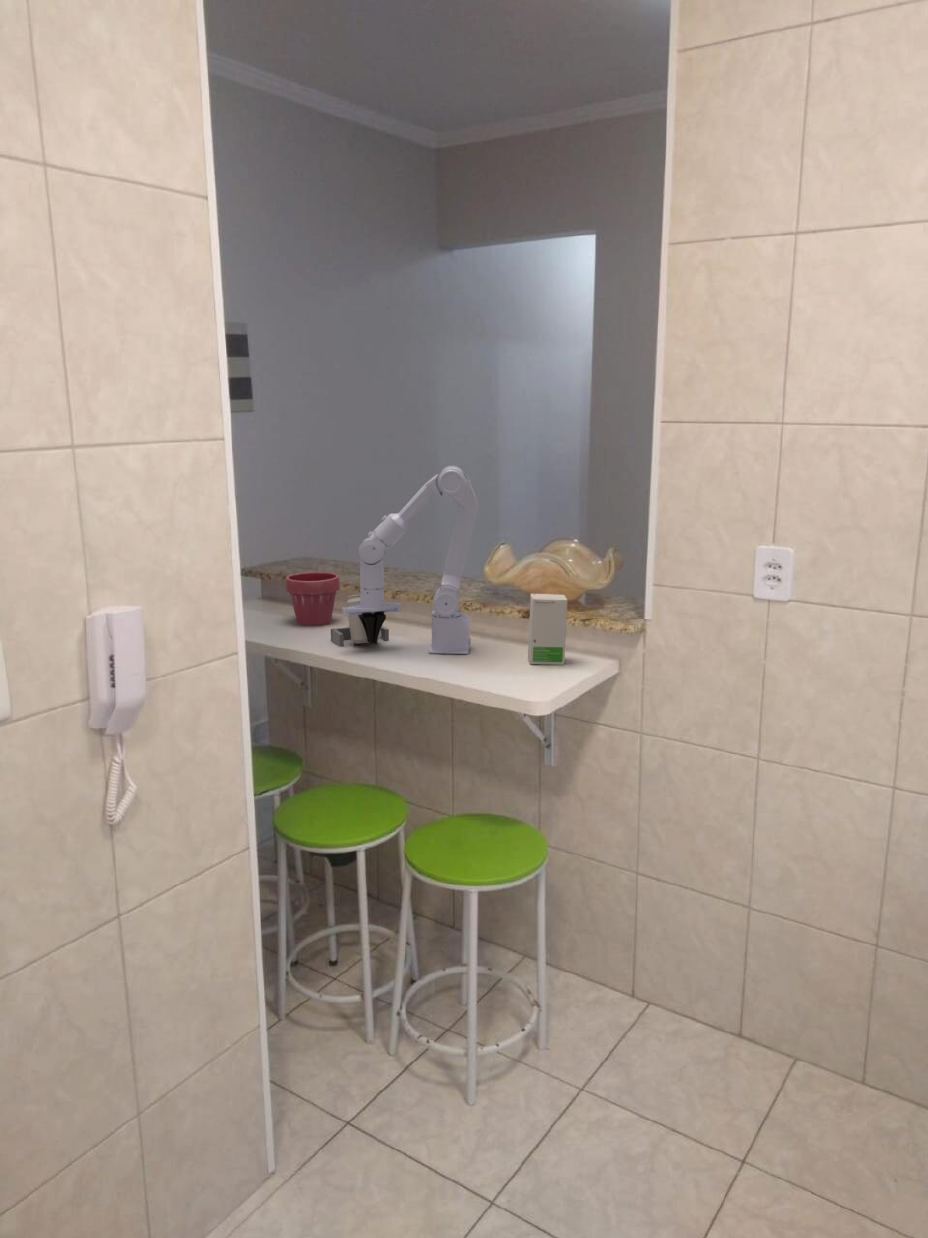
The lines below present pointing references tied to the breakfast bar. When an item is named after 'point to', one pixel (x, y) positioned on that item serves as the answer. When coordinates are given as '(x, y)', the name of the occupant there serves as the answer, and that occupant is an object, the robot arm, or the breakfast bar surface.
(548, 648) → the skincare box
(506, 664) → the breakfast bar surface
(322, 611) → the plant pot
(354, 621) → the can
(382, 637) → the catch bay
